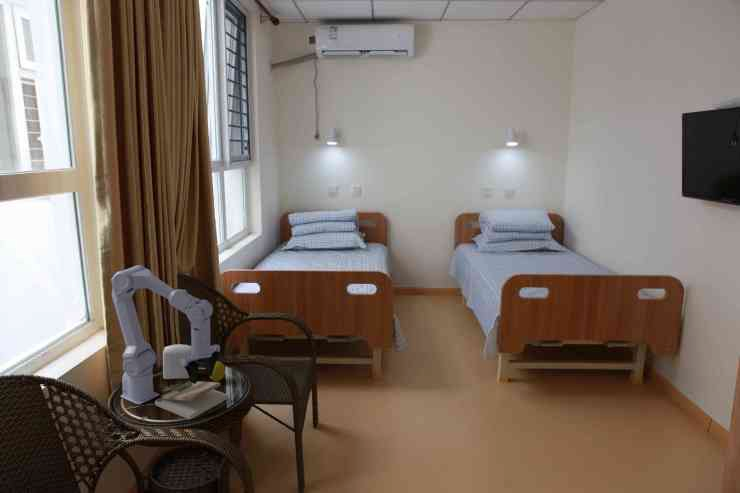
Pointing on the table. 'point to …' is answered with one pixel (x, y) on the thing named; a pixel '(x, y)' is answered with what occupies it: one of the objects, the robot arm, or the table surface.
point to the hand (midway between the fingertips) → (201, 378)
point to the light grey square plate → (192, 404)
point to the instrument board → (190, 390)
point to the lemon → (218, 371)
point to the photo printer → (175, 361)
